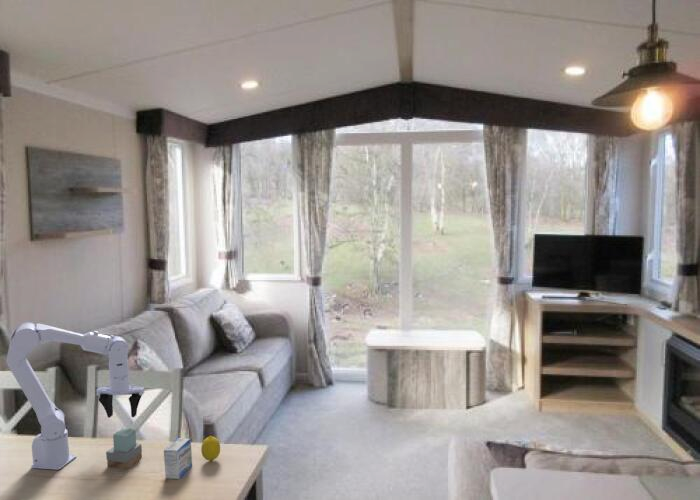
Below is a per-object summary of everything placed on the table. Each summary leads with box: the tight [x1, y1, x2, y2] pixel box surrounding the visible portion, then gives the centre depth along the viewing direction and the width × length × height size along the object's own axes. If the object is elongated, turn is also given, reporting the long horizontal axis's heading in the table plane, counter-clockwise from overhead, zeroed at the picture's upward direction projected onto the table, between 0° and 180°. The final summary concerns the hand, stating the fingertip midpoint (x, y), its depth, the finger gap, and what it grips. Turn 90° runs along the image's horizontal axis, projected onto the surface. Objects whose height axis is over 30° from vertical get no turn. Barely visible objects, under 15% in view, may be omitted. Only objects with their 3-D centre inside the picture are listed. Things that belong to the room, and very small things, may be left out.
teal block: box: [112, 427, 137, 452], centre depth 160 cm, size 4×4×5 cm
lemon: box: [200, 435, 221, 462], centre depth 160 cm, size 6×6×8 cm
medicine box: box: [163, 437, 193, 480], centre depth 154 cm, size 8×4×9 cm, turn 168°
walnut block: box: [106, 451, 143, 470], centre depth 161 cm, size 7×7×2 cm
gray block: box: [105, 442, 143, 463], centre depth 160 cm, size 7×7×2 cm
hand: (122, 416), depth 169 cm, fingers open, 7 cm apart
